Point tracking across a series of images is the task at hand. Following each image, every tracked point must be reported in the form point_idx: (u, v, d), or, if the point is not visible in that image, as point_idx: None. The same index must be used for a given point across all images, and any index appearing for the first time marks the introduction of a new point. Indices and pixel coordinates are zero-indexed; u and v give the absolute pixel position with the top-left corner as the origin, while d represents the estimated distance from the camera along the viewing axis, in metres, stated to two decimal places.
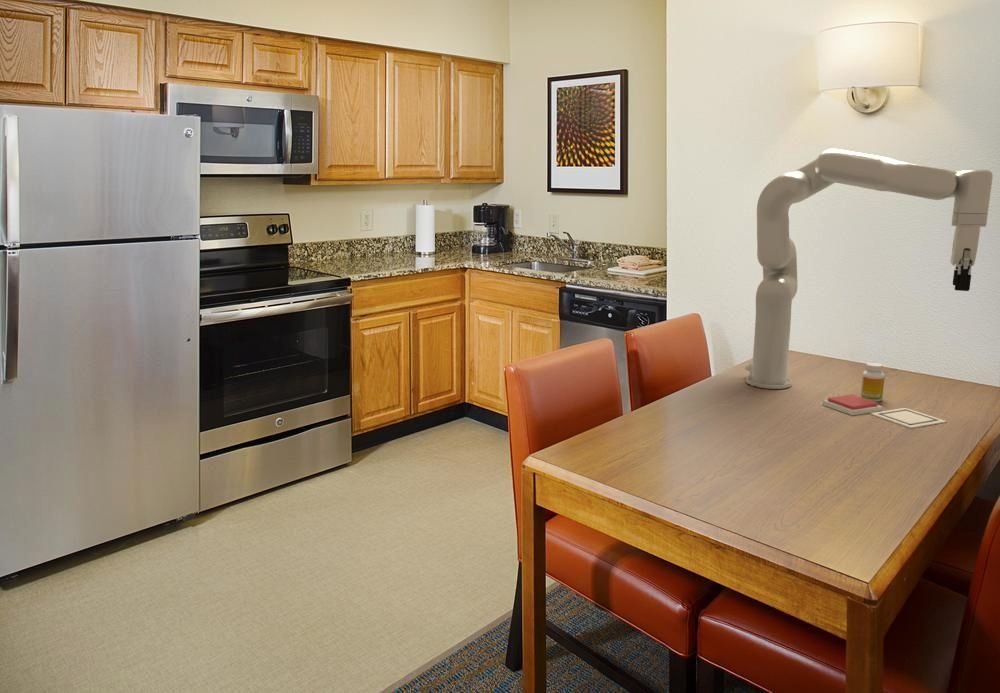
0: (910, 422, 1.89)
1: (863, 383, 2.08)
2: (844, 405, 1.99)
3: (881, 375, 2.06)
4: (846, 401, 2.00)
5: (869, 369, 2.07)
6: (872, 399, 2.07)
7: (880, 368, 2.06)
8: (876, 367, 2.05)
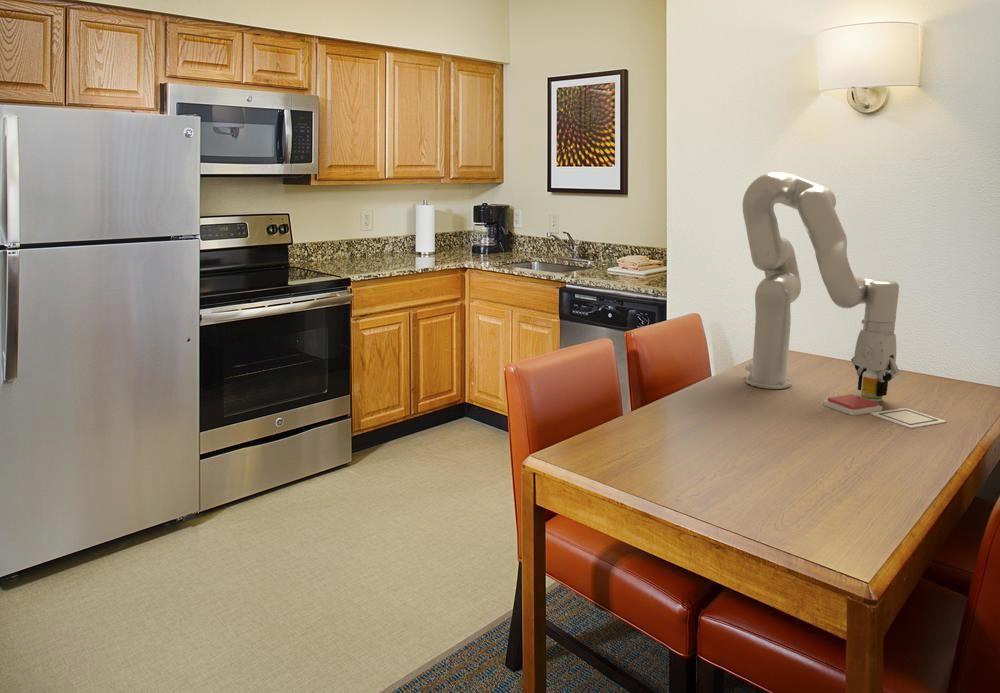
0: (910, 422, 1.89)
1: (863, 383, 2.08)
2: (844, 405, 1.99)
3: None
4: (846, 401, 2.00)
5: (869, 369, 2.07)
6: (872, 399, 2.07)
7: None
8: None
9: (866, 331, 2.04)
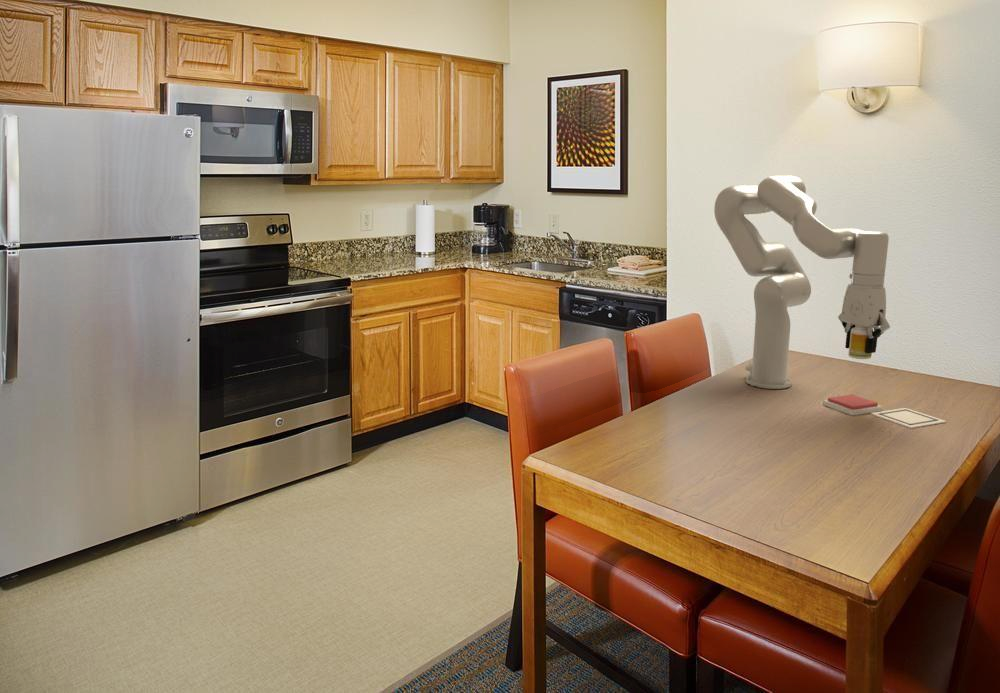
0: (910, 422, 1.89)
1: (851, 340, 1.99)
2: (844, 405, 1.99)
3: None
4: (846, 401, 2.00)
5: (858, 325, 1.97)
6: (861, 356, 1.97)
7: None
8: None
9: (854, 285, 1.95)
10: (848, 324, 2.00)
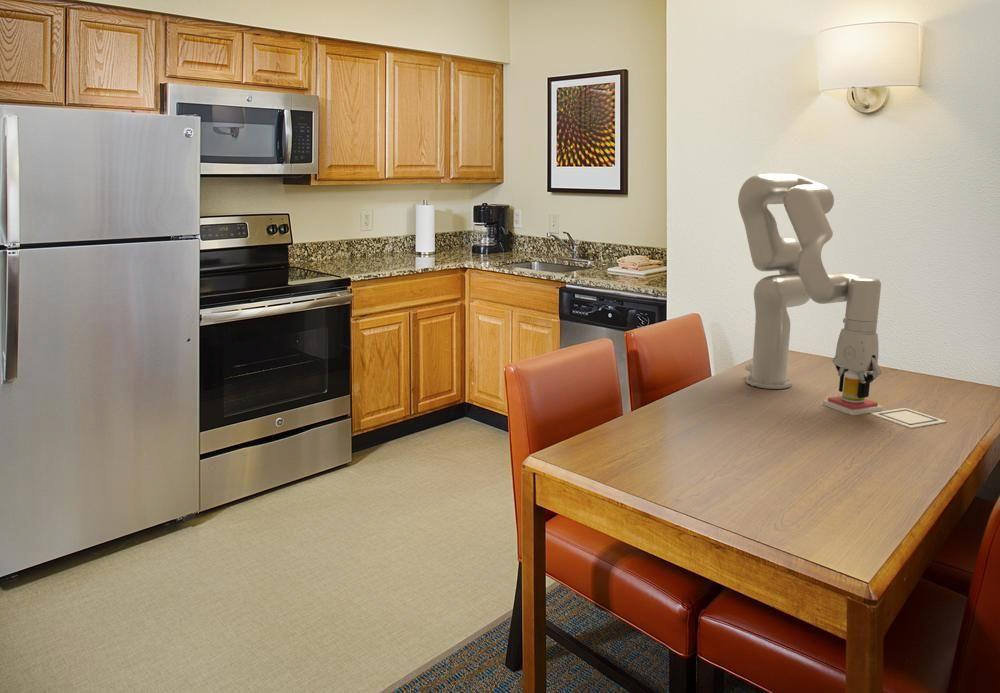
0: (910, 422, 1.89)
1: (844, 384, 2.00)
2: (844, 405, 1.99)
3: None
4: None
5: None
6: (854, 400, 1.99)
7: None
8: None
9: (847, 330, 1.96)
10: (841, 368, 2.02)
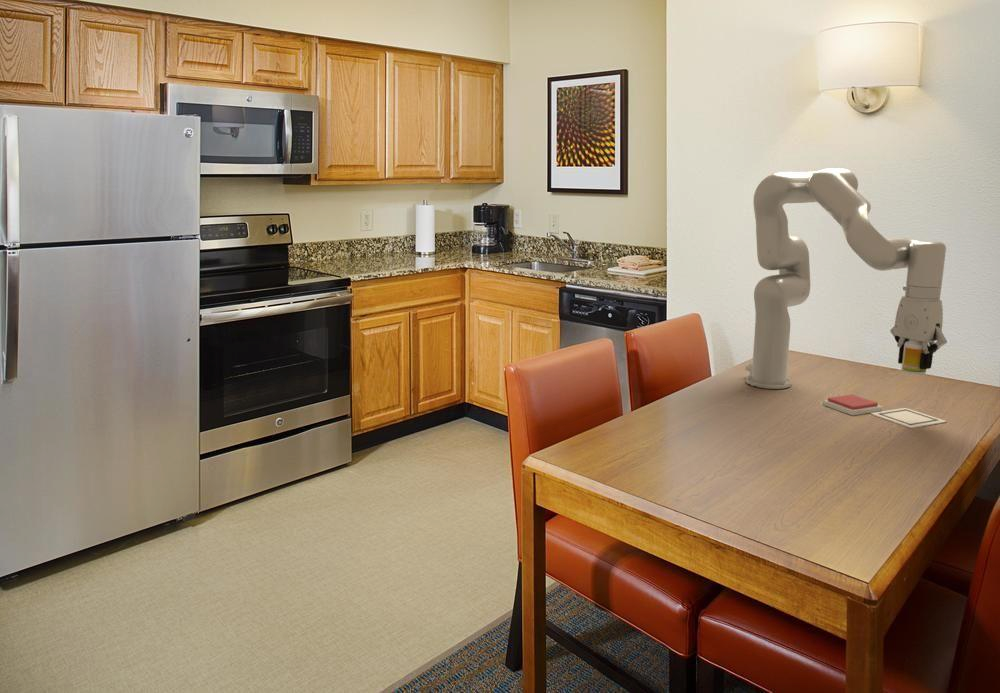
0: (910, 422, 1.89)
1: (905, 354, 1.89)
2: (844, 405, 1.99)
3: None
4: (846, 401, 2.00)
5: None
6: (915, 372, 1.88)
7: None
8: None
9: (909, 297, 1.85)
10: (901, 338, 1.91)
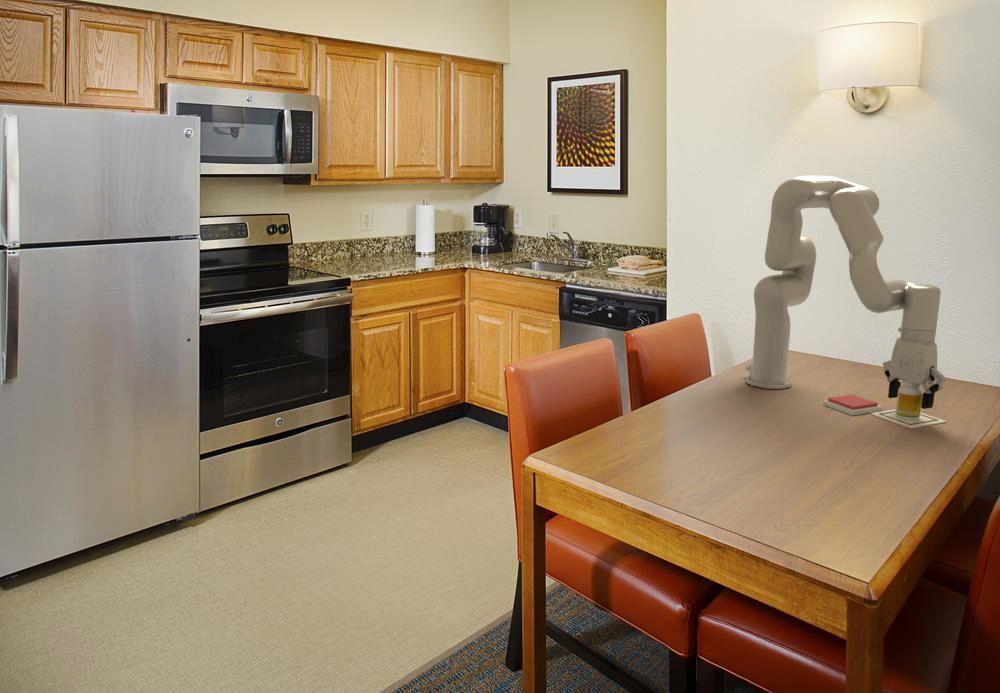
0: (910, 422, 1.89)
1: (899, 400, 1.92)
2: (844, 405, 1.99)
3: (919, 391, 1.89)
4: (846, 401, 2.00)
5: (906, 385, 1.90)
6: (909, 417, 1.91)
7: (918, 384, 1.89)
8: None
9: (904, 340, 1.88)
10: None
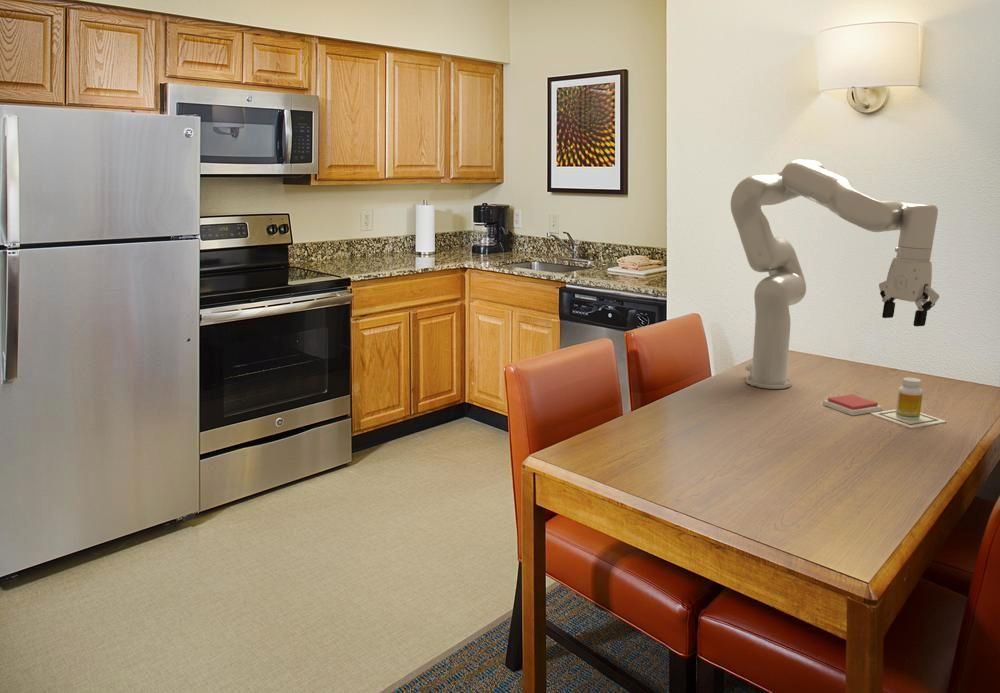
0: (910, 422, 1.89)
1: (899, 400, 1.92)
2: (844, 405, 1.99)
3: (919, 391, 1.89)
4: (846, 401, 2.00)
5: (906, 385, 1.90)
6: (909, 417, 1.91)
7: (918, 384, 1.89)
8: (914, 382, 1.89)
9: (900, 258, 1.91)
10: None
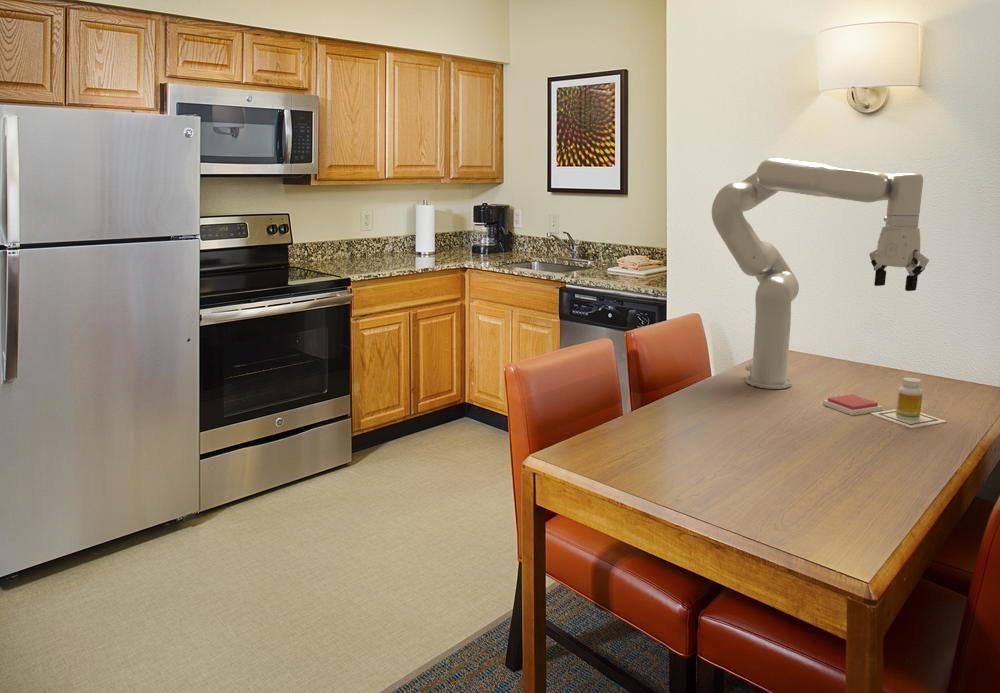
0: (910, 422, 1.89)
1: (899, 400, 1.92)
2: (844, 405, 1.99)
3: (919, 391, 1.89)
4: (846, 401, 2.00)
5: (906, 385, 1.90)
6: (909, 417, 1.91)
7: (918, 384, 1.89)
8: (914, 382, 1.89)
9: (889, 226, 1.98)
10: None
